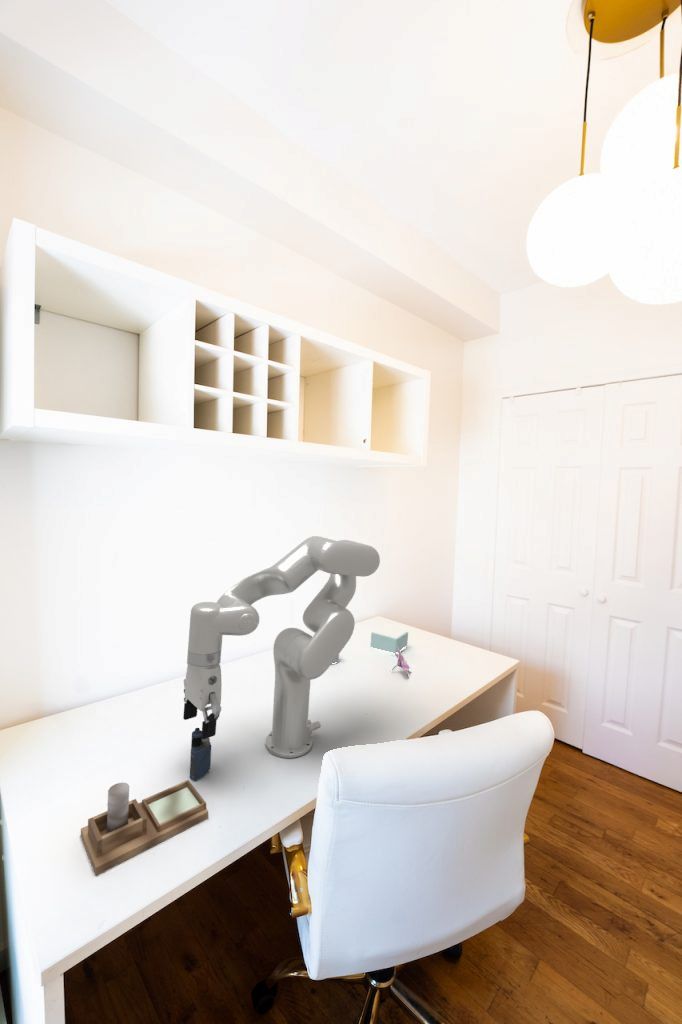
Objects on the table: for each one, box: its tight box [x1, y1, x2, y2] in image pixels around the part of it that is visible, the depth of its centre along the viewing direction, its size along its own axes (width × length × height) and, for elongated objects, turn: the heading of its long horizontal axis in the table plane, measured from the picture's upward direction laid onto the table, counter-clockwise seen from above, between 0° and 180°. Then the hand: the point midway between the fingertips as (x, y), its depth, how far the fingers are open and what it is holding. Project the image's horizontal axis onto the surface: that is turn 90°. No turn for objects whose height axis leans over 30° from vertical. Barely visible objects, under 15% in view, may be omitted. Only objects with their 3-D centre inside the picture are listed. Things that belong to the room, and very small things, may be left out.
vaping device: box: [189, 727, 212, 782], centre depth 103 cm, size 3×5×12 cm, turn 146°
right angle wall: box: [370, 631, 409, 653], centre depth 191 cm, size 12×12×8 cm
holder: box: [80, 779, 209, 876], centre depth 87 cm, size 21×11×10 cm, turn 133°
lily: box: [391, 645, 411, 674], centre depth 166 cm, size 12×12×10 cm
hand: (198, 727), depth 102 cm, fingers open, 9 cm apart
